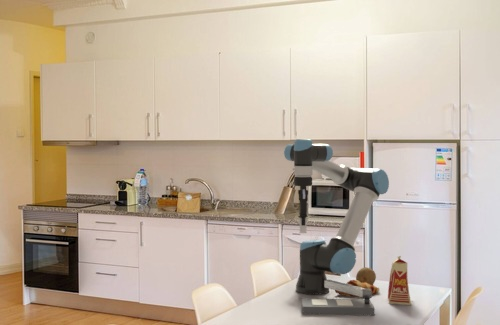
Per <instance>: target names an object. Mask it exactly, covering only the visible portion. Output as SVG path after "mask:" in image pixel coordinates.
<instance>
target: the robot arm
mask: <svg viewBox="0 0 500 325" xmlns="http://www.w3.org/2000/svg"><path fill="white" fill-rule="evenodd" d="M333 152H334V151H333V148H332V146H331V145H330V144H327V143H313V140H312V139H310V138H309V139H307V138H304V139H303V138H299V139H298V138H296V139H295V140H294V143H293V144H291V143H289V144H287V145H286V146H285V148H284V151H283V155H284V158H285V159H286V161H290V162H293V168H292V171H294V172H293V175H294V178H293V185H294V186H296V187H299V189H298V190H297V194H298V202H299V213H298V214H299V215H298V218H299V234H307V218H308V216H309V215H308V213H307V212H308V211H307V210H308V201H309V199H308V197H309V196H308V195H309V190H308V189H307V187H311V186H313V177H312V176H313V171H315V172H317V173H319V174H321V175H323V176H324V177H327V178H328V179H331V180H332V181H333V183H334V184H335V185H338V186H340V187H341V188H344V189H346V190H348V191H350V192H353V193H354V194H355V195H354V196H353V198H352V201H351V203H350V206H349V208H348V210H347V212H346V214H345V216H344V218H343V220H342V222H341V225H340V227H339V229H338V231H337V233H336V235H335V237H331V238H330V240H329V242H328V244H327V242H326V240H325V239H312V240H311V239H310V240H305V241H301V243H300V244H299V247H300V248H299V275H298V278H297V281H296V284H295V291H296V292H297V293H300V294H305V295H324V294H328V293H329V292H330V289H329V288H325V287H324V280H328V279H327V275H326V272H329V273H333V274H337V275H346V274H349V273H351V271H352V270H353V269H354V267H355V265H356V263H357V259H356V258H357V254H356V248H355V246H354V245H355V242H356V240H357V238H358V235H359V234H360V232H361V229H362V227H363V225H364V222H365V220H366V218H367V216H368V213H369V211H370V209H371V206H372V204H373V202H376V201H378V199H379V198H380V195H384V194H386V193H387V192H388V190H389V188H390V187H389V185H390V182H389V175H388V174H387V172H386V171H385V170H384V169H381V168H376V167H375V168H367V167H366V168H365V167H349V166H347V165H344V164H338V163H336V162H334V161H332V160H331V159H332V158H333V155H334V153H333Z"/></svg>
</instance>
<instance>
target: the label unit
mask: <svg viewBox="0 0 500 325" xmlns="http://www.w3.org/2000/svg"><path fill="white" fill-rule="evenodd" d="M301 310H302V315H331V316H332V315H333V316H337V315H338V316H375V310H376V309H375V306H374V305H373V302H372V301H371V298H369V299H367V298H363V299H361V298H360V299H358V298H357V299H351V298H306V297H305V298H301Z"/></svg>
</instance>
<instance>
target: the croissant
mask: <svg viewBox="0 0 500 325" xmlns="http://www.w3.org/2000/svg"><path fill="white" fill-rule="evenodd" d="M346 284H349V285H353V286H357V287H361V288H365V289H371V290H372V295H373V294H377V293H380V287H377V286H376V285H375V284H373V285H370V284H368V283H366V282H362V283H361V282H360V281H358V280H356V279H352V280H349V281H347V283H346ZM334 292H335V293H336V294H338V295H342V296H344V297H354V298H355V297H357V298H358V296H356V295H352V294H348V293H345V292H341V291H337V290H334Z"/></svg>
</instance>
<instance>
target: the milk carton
mask: <svg viewBox="0 0 500 325" xmlns="http://www.w3.org/2000/svg"><path fill="white" fill-rule="evenodd" d="M391 263H392V264H391V268H390V274H389V282H388V289H387V290H388V291H387V299H388V304H389V305H390V304H393V305H405V306H407V305H408V306H412V302H411V297H410V296H411V295H410V289H409V280H408V262H406V261H404V260H402V259H401V255H399V256H397V259H395V260H394V261H393V262H391Z"/></svg>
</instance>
